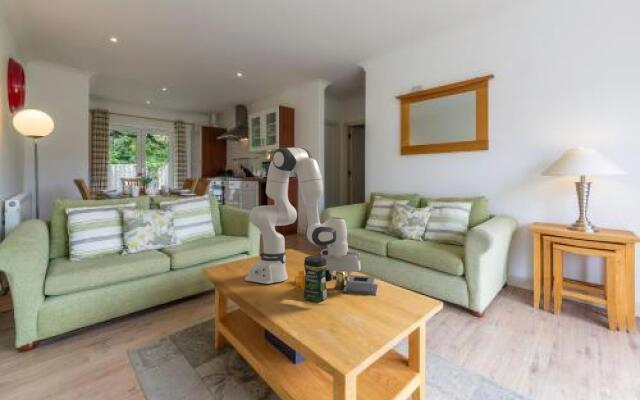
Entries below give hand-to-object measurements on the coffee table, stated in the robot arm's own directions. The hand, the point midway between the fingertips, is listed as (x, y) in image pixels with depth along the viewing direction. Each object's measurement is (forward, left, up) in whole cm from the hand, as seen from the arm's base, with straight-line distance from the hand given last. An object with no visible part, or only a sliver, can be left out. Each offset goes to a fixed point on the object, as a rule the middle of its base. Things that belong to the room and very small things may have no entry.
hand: (340, 279), depth 136 cm
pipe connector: (-12, +10, -5) cm, 16 cm away
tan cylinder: (-1, +1, -5) cm, 5 cm away
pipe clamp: (-20, +1, -5) cm, 21 cm away
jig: (+9, +3, -5) cm, 11 cm away
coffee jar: (-8, -15, -5) cm, 18 cm away
